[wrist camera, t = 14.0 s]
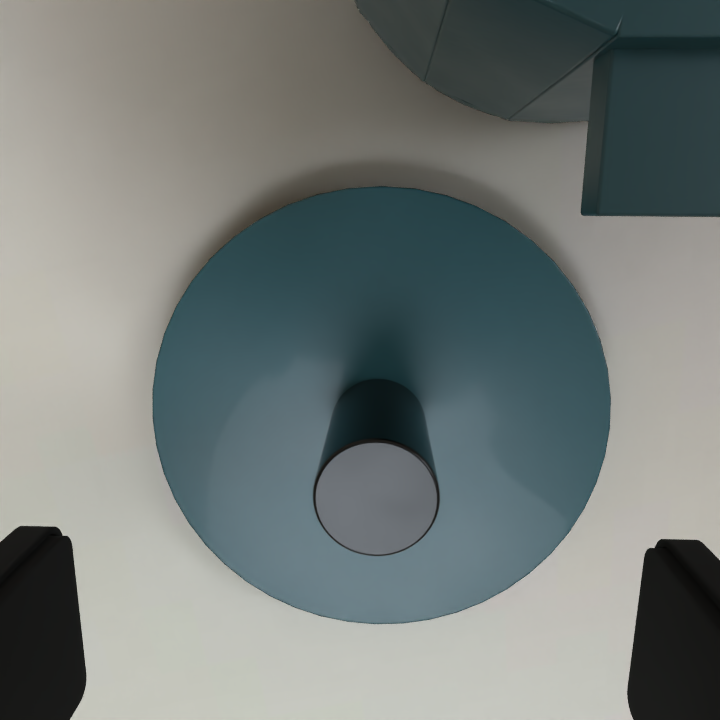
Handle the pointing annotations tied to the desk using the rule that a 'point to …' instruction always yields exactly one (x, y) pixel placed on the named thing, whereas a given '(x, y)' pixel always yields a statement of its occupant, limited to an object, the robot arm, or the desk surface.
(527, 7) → the pot
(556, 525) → the lid
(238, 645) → the desk surface
